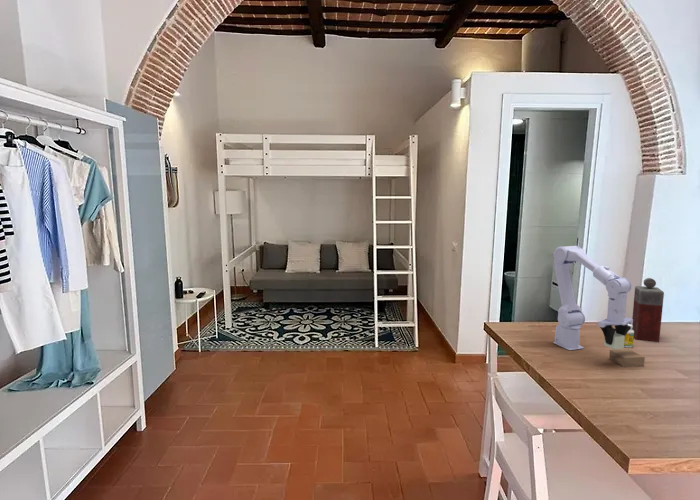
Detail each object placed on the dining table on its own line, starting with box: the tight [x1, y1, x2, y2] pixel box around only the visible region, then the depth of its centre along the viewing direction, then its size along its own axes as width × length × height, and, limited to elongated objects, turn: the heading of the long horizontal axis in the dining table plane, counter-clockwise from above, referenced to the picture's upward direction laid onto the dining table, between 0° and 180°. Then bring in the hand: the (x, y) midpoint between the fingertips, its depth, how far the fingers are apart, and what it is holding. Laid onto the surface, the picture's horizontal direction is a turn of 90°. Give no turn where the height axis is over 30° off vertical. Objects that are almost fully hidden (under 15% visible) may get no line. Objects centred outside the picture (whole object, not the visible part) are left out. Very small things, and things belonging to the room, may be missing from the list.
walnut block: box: [608, 348, 645, 368], centre depth 156 cm, size 8×8×4 cm
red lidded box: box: [631, 277, 665, 343], centre depth 183 cm, size 9×11×28 cm
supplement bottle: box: [624, 324, 635, 349], centre depth 174 cm, size 5×5×10 cm
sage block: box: [603, 332, 625, 350], centre depth 154 cm, size 4×4×5 cm
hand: (613, 343), depth 154 cm, fingers closed on sage block, 4 cm apart
